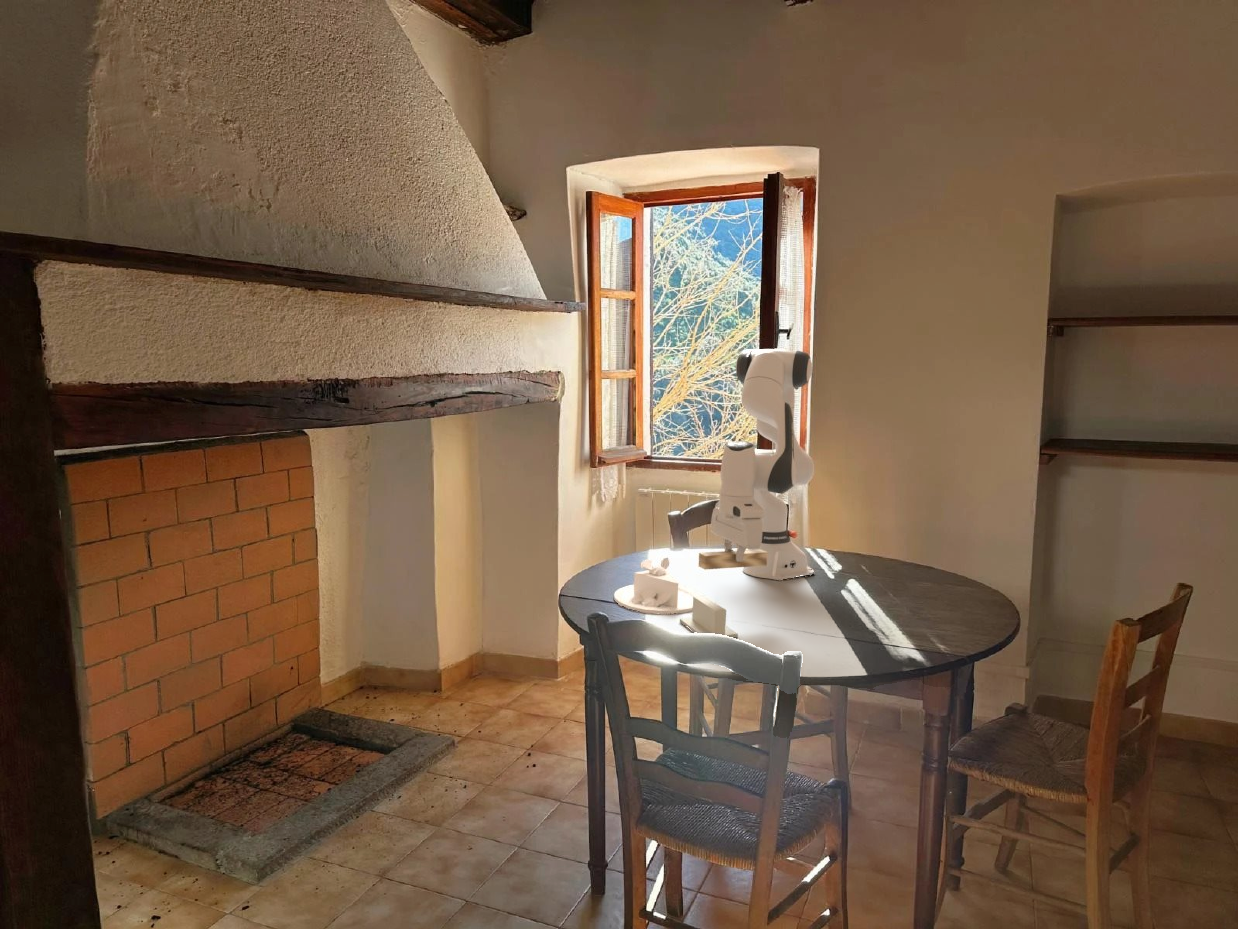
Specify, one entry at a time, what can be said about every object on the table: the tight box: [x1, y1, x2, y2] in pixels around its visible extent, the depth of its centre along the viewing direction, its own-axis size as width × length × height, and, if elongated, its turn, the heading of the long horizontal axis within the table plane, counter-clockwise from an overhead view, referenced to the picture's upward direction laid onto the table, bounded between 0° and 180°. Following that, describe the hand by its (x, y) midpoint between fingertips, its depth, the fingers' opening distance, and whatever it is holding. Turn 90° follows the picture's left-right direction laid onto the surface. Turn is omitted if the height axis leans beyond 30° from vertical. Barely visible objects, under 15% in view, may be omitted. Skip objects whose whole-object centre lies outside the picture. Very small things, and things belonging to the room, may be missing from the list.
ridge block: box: [679, 595, 739, 639], centre depth 206 cm, size 9×14×7 cm, turn 21°
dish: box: [613, 557, 703, 615], centre depth 229 cm, size 25×25×11 cm
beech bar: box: [698, 549, 767, 570], centre depth 212 cm, size 18×4×4 cm, turn 112°
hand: (733, 558), depth 212 cm, fingers closed on beech bar, 3 cm apart
